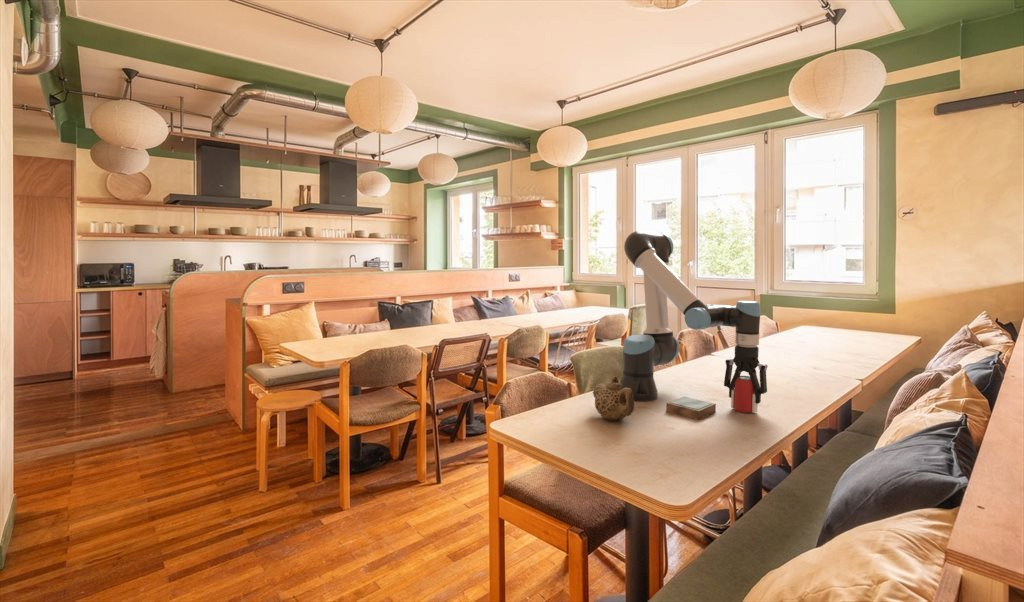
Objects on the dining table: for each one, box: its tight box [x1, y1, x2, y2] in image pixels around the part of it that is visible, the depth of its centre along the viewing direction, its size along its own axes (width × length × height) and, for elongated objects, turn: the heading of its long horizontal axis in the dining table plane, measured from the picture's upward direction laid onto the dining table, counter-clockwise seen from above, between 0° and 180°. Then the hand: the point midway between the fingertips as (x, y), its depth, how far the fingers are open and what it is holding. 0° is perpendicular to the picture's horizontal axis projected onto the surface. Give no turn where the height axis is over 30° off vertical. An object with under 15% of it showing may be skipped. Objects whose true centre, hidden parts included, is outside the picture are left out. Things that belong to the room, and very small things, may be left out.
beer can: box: [733, 375, 755, 414], centre depth 174 cm, size 7×7×12 cm
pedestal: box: [666, 396, 717, 421], centre depth 173 cm, size 12×12×3 cm
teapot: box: [592, 375, 635, 422], centre depth 164 cm, size 21×12×15 cm, turn 23°
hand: (743, 409), depth 174 cm, fingers closed on beer can, 7 cm apart
